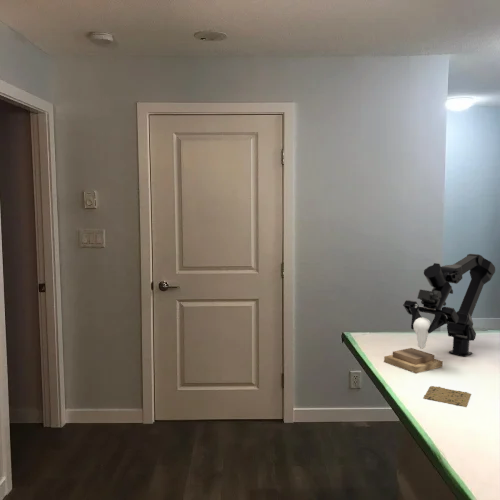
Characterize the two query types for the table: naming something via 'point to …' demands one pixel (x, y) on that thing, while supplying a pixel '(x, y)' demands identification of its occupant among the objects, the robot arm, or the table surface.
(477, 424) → the table surface
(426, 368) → the plinth
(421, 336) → the lightbulb
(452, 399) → the cookie
